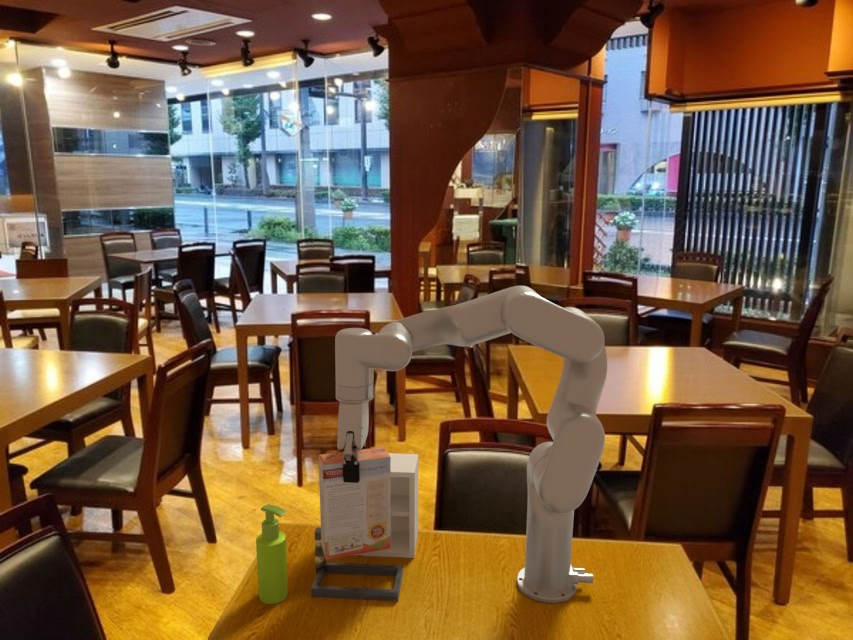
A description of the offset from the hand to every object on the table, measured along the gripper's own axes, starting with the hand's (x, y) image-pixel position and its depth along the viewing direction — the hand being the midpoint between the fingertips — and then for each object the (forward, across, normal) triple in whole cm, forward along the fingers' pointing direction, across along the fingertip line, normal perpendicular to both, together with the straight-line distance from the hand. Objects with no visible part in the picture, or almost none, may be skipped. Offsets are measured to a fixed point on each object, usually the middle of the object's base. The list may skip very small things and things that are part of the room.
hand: (355, 472), depth 131 cm
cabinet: (+26, -16, +3) cm, 30 cm away
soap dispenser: (+26, +5, -16) cm, 31 cm away
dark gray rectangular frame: (+26, 0, +1) cm, 26 cm away
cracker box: (+17, 0, 0) cm, 17 cm away
